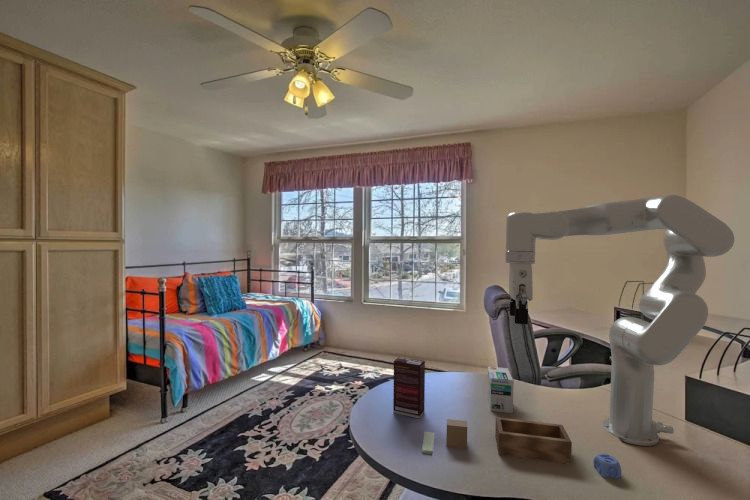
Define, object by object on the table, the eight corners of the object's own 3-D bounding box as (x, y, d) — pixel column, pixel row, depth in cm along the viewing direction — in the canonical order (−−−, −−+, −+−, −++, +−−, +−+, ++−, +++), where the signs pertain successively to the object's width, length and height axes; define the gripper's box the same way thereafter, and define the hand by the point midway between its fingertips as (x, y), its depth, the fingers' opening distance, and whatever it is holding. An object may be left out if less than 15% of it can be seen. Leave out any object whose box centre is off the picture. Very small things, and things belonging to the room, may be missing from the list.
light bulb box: (513, 415, 110) (514, 380, 110) (489, 413, 111) (490, 378, 111) (508, 400, 121) (508, 367, 120) (486, 398, 122) (487, 365, 121)
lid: (488, 443, 96) (489, 418, 96) (492, 463, 88) (493, 436, 87) (424, 436, 99) (424, 411, 99) (422, 454, 91) (422, 427, 91)
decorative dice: (610, 470, 85) (611, 453, 85) (621, 482, 81) (622, 464, 81) (592, 469, 85) (593, 452, 85) (602, 481, 81) (603, 463, 81)
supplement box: (424, 412, 112) (425, 360, 111) (419, 419, 107) (420, 365, 106) (398, 406, 115) (398, 355, 115) (392, 413, 111) (393, 360, 110)
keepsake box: (561, 448, 94) (562, 424, 93) (570, 467, 86) (571, 442, 86) (495, 439, 97) (495, 417, 97) (498, 457, 89) (499, 433, 89)
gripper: (541, 260, 92) (539, 328, 93) (528, 256, 109) (527, 313, 110) (509, 259, 94) (507, 326, 95) (502, 255, 111) (500, 312, 112)
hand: (518, 319), depth 102 cm, fingers open, 9 cm apart
